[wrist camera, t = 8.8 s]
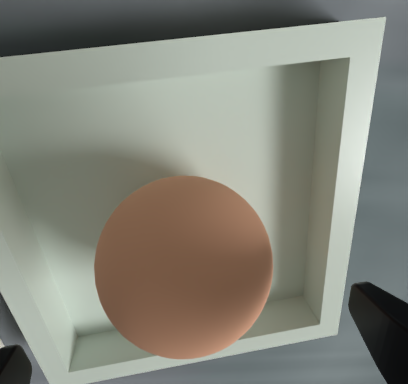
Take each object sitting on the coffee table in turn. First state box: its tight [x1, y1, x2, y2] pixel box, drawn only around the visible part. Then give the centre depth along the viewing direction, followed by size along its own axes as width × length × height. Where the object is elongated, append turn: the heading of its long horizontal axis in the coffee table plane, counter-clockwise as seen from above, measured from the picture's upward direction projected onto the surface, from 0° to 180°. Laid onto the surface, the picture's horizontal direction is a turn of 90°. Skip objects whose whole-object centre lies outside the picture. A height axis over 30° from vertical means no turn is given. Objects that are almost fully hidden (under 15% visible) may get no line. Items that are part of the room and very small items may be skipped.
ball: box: [94, 176, 273, 359], centre depth 11 cm, size 6×6×6 cm
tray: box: [0, 17, 386, 384], centre depth 13 cm, size 14×14×2 cm
